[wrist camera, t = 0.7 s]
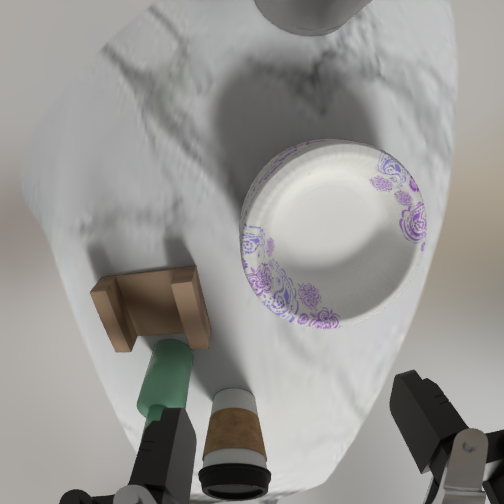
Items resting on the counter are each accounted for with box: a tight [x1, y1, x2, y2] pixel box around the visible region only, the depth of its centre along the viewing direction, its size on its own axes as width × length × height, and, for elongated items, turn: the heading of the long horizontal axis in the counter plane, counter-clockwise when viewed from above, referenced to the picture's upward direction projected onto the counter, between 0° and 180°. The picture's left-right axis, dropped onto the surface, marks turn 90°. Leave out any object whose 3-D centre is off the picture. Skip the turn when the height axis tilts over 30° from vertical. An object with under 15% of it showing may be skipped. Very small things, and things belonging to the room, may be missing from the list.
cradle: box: [90, 266, 211, 352], centre depth 30 cm, size 8×11×3 cm
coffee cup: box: [198, 388, 271, 501], centre depth 31 cm, size 8×8×15 cm
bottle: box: [137, 339, 193, 444], centre depth 27 cm, size 5×5×15 cm
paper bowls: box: [239, 139, 426, 329], centre depth 24 cm, size 15×15×8 cm
